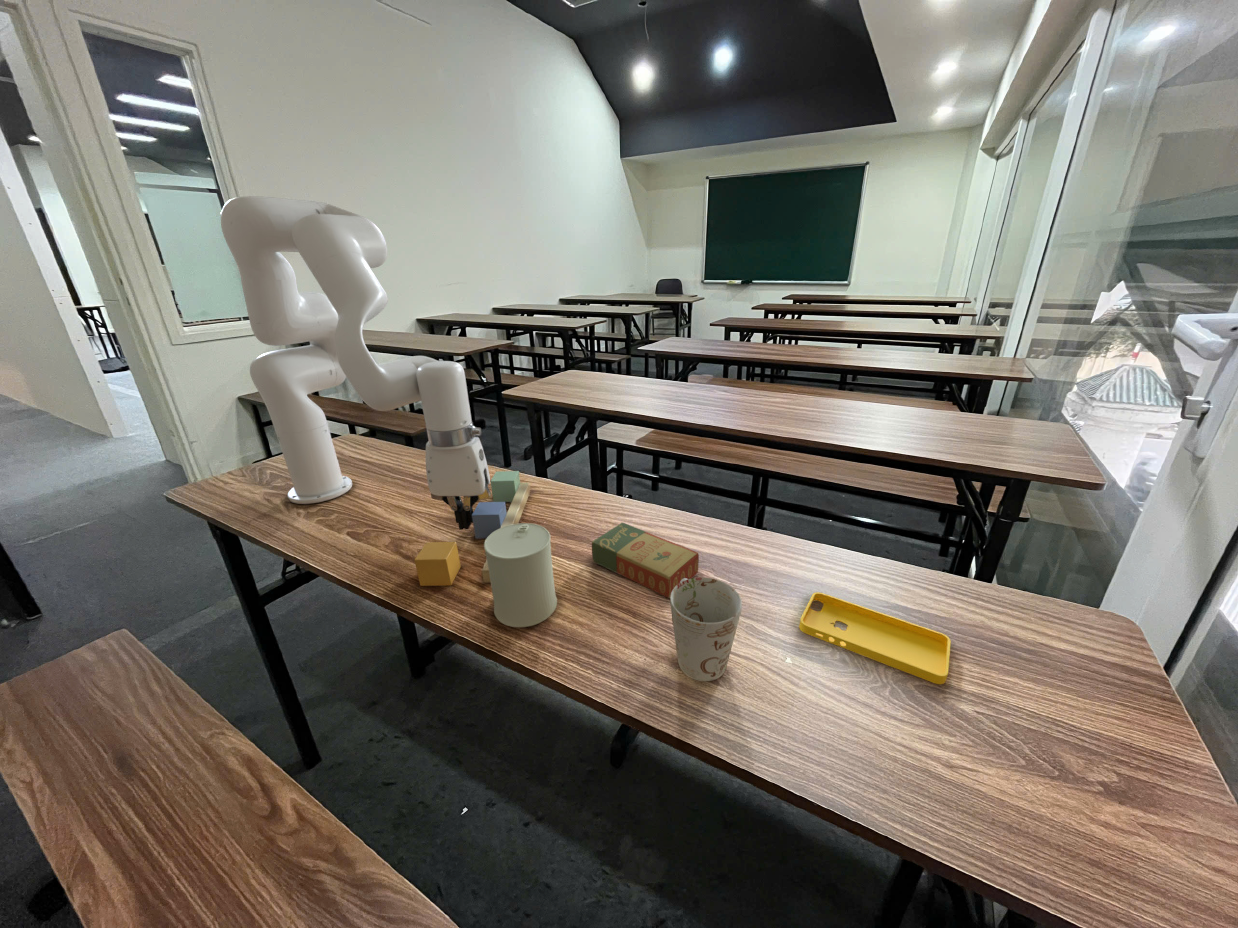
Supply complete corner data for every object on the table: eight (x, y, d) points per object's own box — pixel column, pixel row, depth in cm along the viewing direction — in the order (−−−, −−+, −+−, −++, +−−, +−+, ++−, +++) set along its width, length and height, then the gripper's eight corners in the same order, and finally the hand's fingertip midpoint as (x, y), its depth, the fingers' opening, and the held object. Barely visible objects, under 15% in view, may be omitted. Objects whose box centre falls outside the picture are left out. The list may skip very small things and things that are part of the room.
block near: (420, 586, 76) (414, 559, 74) (431, 567, 81) (425, 542, 79) (451, 585, 76) (446, 559, 74) (461, 566, 81) (456, 541, 79)
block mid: (475, 538, 89) (471, 515, 87) (482, 524, 93) (479, 502, 91) (502, 538, 89) (499, 514, 87) (508, 524, 93) (505, 501, 91)
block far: (493, 502, 102) (490, 481, 100) (498, 491, 106) (495, 471, 104) (516, 501, 102) (514, 480, 100) (521, 491, 106) (518, 470, 104)
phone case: (944, 687, 56) (947, 679, 55) (797, 630, 65) (798, 622, 64) (948, 643, 62) (951, 635, 62) (813, 597, 71) (814, 589, 71)
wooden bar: (521, 492, 106) (520, 482, 105) (530, 492, 106) (529, 482, 105) (483, 582, 76) (481, 570, 75) (496, 582, 76) (494, 570, 75)
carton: (668, 600, 71) (669, 576, 70) (591, 561, 81) (589, 540, 79) (698, 573, 77) (699, 551, 75) (622, 540, 87) (621, 519, 85)
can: (562, 587, 75) (556, 520, 70) (549, 629, 66) (541, 557, 62) (505, 584, 76) (495, 518, 71) (485, 626, 67) (472, 554, 62)
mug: (684, 697, 56) (687, 630, 52) (648, 624, 67) (648, 565, 63) (748, 679, 58) (755, 614, 54) (703, 612, 69) (706, 553, 65)
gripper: (499, 426, 86) (509, 515, 94) (416, 427, 87) (434, 516, 94) (488, 441, 79) (500, 536, 87) (398, 442, 80) (419, 536, 87)
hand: (466, 525), depth 90 cm, fingers closed
